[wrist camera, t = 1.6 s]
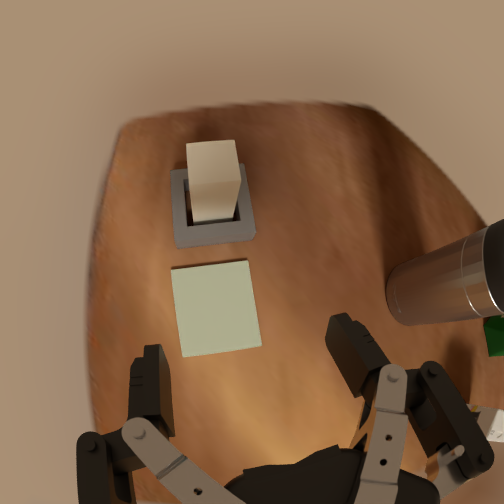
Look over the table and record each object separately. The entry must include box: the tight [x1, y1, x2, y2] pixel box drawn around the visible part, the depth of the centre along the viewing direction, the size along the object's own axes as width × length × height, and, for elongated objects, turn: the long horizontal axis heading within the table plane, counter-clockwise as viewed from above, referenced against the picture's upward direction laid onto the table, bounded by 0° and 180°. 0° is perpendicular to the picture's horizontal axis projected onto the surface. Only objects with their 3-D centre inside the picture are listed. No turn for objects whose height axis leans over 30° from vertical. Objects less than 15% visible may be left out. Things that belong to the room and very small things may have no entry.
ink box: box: [467, 404, 504, 442], centre depth 26 cm, size 9×5×12 cm, turn 63°
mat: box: [171, 260, 262, 357], centre depth 31 cm, size 9×10×1 cm
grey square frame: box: [170, 163, 256, 249], centre depth 33 cm, size 9×9×3 cm
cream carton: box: [186, 140, 241, 226], centre depth 29 cm, size 4×4×11 cm
